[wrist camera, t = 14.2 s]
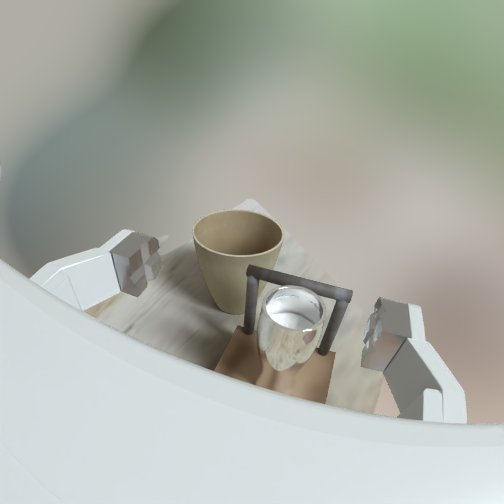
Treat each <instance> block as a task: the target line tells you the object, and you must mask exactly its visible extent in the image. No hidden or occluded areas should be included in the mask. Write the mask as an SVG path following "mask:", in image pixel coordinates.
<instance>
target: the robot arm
mask: <svg viewBox="0 0 504 504" xmlns="http://www.w3.org/2000/svg"><path fill="white" fill-rule="evenodd" d="M0 183H1V163H0ZM158 249H159V242H158V240H157V239H156V238H155V237H152V236H149V235H145V234H141V233H139V232H134V231H132V230H128V229H123V230H122V231H120V232H119V233H118V234H116V235H115V236H114V237H113V238H112V239H110V240H109V241H108V242H106V243H105V244H104V245H103V246H101V247H100V248H99V249H98V248H94V249H90V250H87V251H84V252H81V253H78V254H74V255H71V256H68V257H65V258H62V259H59V260H56V261H53V262H49V263H48V264H46V265H45V266H44V267H42V268H41V269H40V270H39V271H38V272H37V273H35V274H34V275H33V276H32V277H31V278H30V279H28V278H27V277H25V276H24V275H22V274H21V273H20V272H18V271H17V270H15V269H14V268H12V267H11V266H9V265H8V264H7V263H5V262H4V261H3V260H1V259H0V504H504V424H467V415H466V402H465V392H464V391H463V389H462V388H461V386H460V385H459V383H458V382H457V380H456V379H455V378H454V376H453V375H452V373H451V372H450V370H449V369H448V367H447V366H446V365H445V363H444V362H443V360H442V359H441V358H440V356H439V355H438V354H437V352H436V351H435V350H434V348H433V347H432V345H431V344H430V343H429V342H426V340H425V333H424V325H423V318H422V311H421V307H420V306H418V305H413V304H409V303H403V302H398V301H394V300H390V299H386V298H382V297H379V298H378V300H377V302H376V304H375V312H374V313H373V314H371V315H370V317H369V319H368V321H367V324H366V327H365V331H364V337H363V342H364V343H365V347H364V349H363V351H362V359H361V367H364V368H368V369H372V370H377V371H381V372H383V374H384V376H385V379H386V381H387V383H388V385H389V388H390V390H391V392H392V394H393V396H394V399H395V401H396V403H397V405H398V408H399V411H400V413H401V414H400V415H399V416H398V417H390V416H383V415H377V414H371V413H366V412H360V411H355V410H350V409H345V408H340V407H335V406H331V405H326V404H322V403H318V402H314V401H309V400H305V399H302V398H298V397H294V396H290V395H286V394H283V393H279V392H276V391H272V390H269V389H266V388H262V387H259V386H256V385H253V384H249V383H246V382H243V381H240V380H237V379H234V378H231V377H228V376H226V375H223V374H220V373H217V372H214V371H212V370H209V369H206V368H204V367H201V366H199V365H196V364H193V363H191V362H188V361H186V360H183V359H181V358H178V357H176V356H174V355H171V354H169V353H167V352H164V351H162V350H160V349H157V348H155V347H153V346H151V345H148V344H146V343H144V342H142V341H140V340H138V339H135V338H133V337H131V336H129V335H127V334H125V333H123V332H121V331H119V330H117V329H115V328H113V327H111V326H109V325H107V324H105V323H103V322H101V321H99V320H98V319H96V318H94V317H92V316H90V315H88V314H86V313H85V312H83V311H84V310H86V309H88V308H90V307H92V306H94V305H96V304H98V303H100V302H102V301H104V300H106V299H108V298H110V297H112V296H114V295H116V294H118V293H120V292H121V291H122V292H125V293H127V294H130V295H133V296H135V297H138V296H139V295H140V294H141V293H142V292H143V291H144V290H145V289H146V288H147V282H149V281H152V280H154V279H155V278H156V276H157V275H158V273H159V271H160V269H161V257H160V255H159V254H158V252H157V250H158Z"/></svg>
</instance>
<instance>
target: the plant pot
mask: <svg viewBox="0 0 504 504" xmlns="http://www.w3.org/2000/svg"><path fill="white" fill-rule="evenodd" d="M192 233H193V239H194V244H195V249H196V253H197V257H198V261H199V265H200V268H201V271H202V274H203V277H204V279H205V282H206V284H207V287H208V289H209V291H210V293H211V295H212V297H213V299H214V301H215V303H216V304H217V306H218V307H219V308H220V309H221V310H222V311H224V312H226V313H230V314H241V313H244V312H245V302H246V289H247V276H246V271H247V268H248V265H249V264H251V265H255V266H258V267H262V268H266V269H270V270H273V268H274V266H275V263H276V261H277V258H278V255H279V252H280V249H281V246H282V243H283V239H284V231H283V229H282V227H281V226H280V225H279V224H278V223H277V222H276V221H275V220H273V219H272V218H270V217H268V216H266V215H263V214H261V213H257V212H253V211H248V210H223V211H217V212H213V213H210V214H207V215H206V216H203V217H202V218H200V219H199V220H198V221H197V222H196V223H195V224H194V226H193V229H192ZM266 283H267V282H266V281H262V280H259V288H258V297H259V296H260V294H261V293H262V291H263V289H264V287H265V285H266ZM258 297H257V299H258Z"/></svg>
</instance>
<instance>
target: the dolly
mask: <svg viewBox="0 0 504 504" xmlns="http://www.w3.org/2000/svg"><path fill="white" fill-rule="evenodd" d="M246 276H247V289H246V302H245V316H244V327H241V326H237V328H236V330H235V331H234V333H233V335H232V337H231V339H230V341H229V343H228V345H227V347H226V349H225V351H224V353H223V354H222V356H221V358H220V360H219V362H218V364H217V366H216V368H215V370H214V372H217V373H220V374H223V375H226V376H228V377H231V378H234V379H237V380H240V381H243V382H246V383H249V384H253V385H255V383H254V376H255V373H256V370H257V369H258V367H259V357H258V351H257V340H256V338H257V331H255V330H254V324H255V315H256V306H257V297H258V288H259V280H262V281H266V282H270V283H274V284H277V285H281V286H286V285H294V286H300V287H304V288H307V289H309V290H311V291H313V292H314V293H316V294H317V295H320V296H323V297H327V298H331V299H335V300H337V301H336V304H335V306H334V309H333V312H332V315H331V317H330V320H329V323H328V326H327V328H326V331H325V333H324V336H323V339H322V341H321V344H320V346H319V348H316V349H315V351H314V353H313V354H312V356H311V358H310V359H309V361H308V362H307V363H306V365H305V366H304V367H303V368H302V370H301V371H300V372H299V375H298V385H297V388H296V390H295V391H294V392H293V393H292V394H291V395H290V396H294V397H298V398H302V399H305V400H309V401H314V402H318V403H322V404H325V402H326V398H327V393H328V388H329V384H330V379H331V374H332V369H333V364H334V358H335V353H336V352H332V351H329V349H330V347H331V345H332V342H333V340H334V338H335V335H336V333H337V331H338V328H339V326H340V323H341V321H342V319H343V316H344V314H345V311H346V309H347V306H348V303H350V301H351V298H352V294H353V291H352V290H348V289H344V288H340V287H336V286H332V285H328V284H324V283H320V282H316V281H313V280H309V279H305V278H301V277H297V276H293V275H289V274H285V273H281V272H278V271H274V270H270V269H266V268H262V267H258V266H255V265H251V264H249V265H248V268H247V271H246Z"/></svg>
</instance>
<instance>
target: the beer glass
mask: <svg viewBox="0 0 504 504" xmlns="http://www.w3.org/2000/svg"><path fill="white" fill-rule="evenodd" d="M325 317H326V307H325V304H324V302H323V301H322V299H321V298H320V297H319V296H318V295H317V294H316V293H314V292H313V291H311V290H309V289H307V288H304V287H300V286H294V285H286V286H280V287H277V288H275V289H273V290H271V291H270V292H268V293H267V294H266V296H265V297H264V299H263V304H262V309H261V313H260V317H259V321H258V327H257V338H256V340H257V351H258V357H259V367H258V369H257V370H256V373H255V376H254V383H255V385H256V386H259V387H262V388H266V389H269V390H272V391H276V392H279V393H283V394H286V395H291V394H292V393H293V392H294V391H295V390H296V388H297V385H298V375H299V372H300V371H301V370H302V368H303V367H304V366H305V365H306V363H307V362H308V361H309V359H310V358H311V356H312V354H313V353H314V351H315V349H316V347H317V344H318V342H319V339H320V336H321V332H322V328H323V324H324V319H325Z"/></svg>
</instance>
